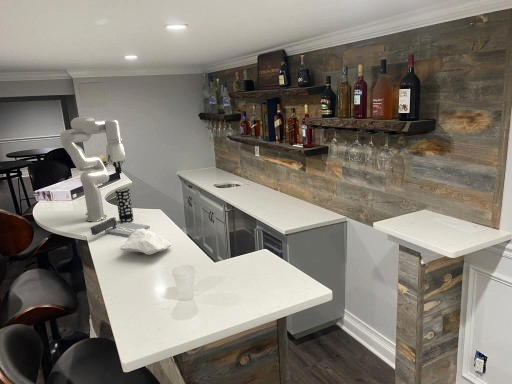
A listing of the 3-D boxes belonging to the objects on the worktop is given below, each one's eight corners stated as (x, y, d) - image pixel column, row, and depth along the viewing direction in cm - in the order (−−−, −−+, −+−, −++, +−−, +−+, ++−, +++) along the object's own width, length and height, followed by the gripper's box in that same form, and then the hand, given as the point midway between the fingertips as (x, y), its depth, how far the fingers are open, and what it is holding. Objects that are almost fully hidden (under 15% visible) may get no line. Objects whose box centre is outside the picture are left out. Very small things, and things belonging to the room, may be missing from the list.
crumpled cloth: (125, 266, 171) (126, 246, 170) (113, 242, 201) (114, 225, 200) (177, 261, 182) (178, 242, 181) (158, 239, 212) (159, 223, 211)
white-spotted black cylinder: (135, 219, 246) (131, 188, 241) (130, 223, 238) (126, 191, 233) (123, 219, 247) (118, 188, 242) (117, 223, 239) (112, 191, 234)
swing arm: (113, 223, 226) (112, 217, 225) (117, 224, 225) (117, 217, 224) (91, 234, 209) (90, 227, 208) (96, 235, 208) (94, 228, 207)
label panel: (105, 232, 222) (104, 227, 221) (126, 224, 235) (126, 219, 235) (128, 237, 213) (128, 231, 212) (149, 228, 226) (149, 222, 225)
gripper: (120, 140, 229) (124, 170, 234) (99, 143, 217) (103, 175, 221) (129, 140, 226) (133, 171, 230) (108, 143, 213) (112, 176, 217)
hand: (118, 173), depth 225 cm, fingers closed
